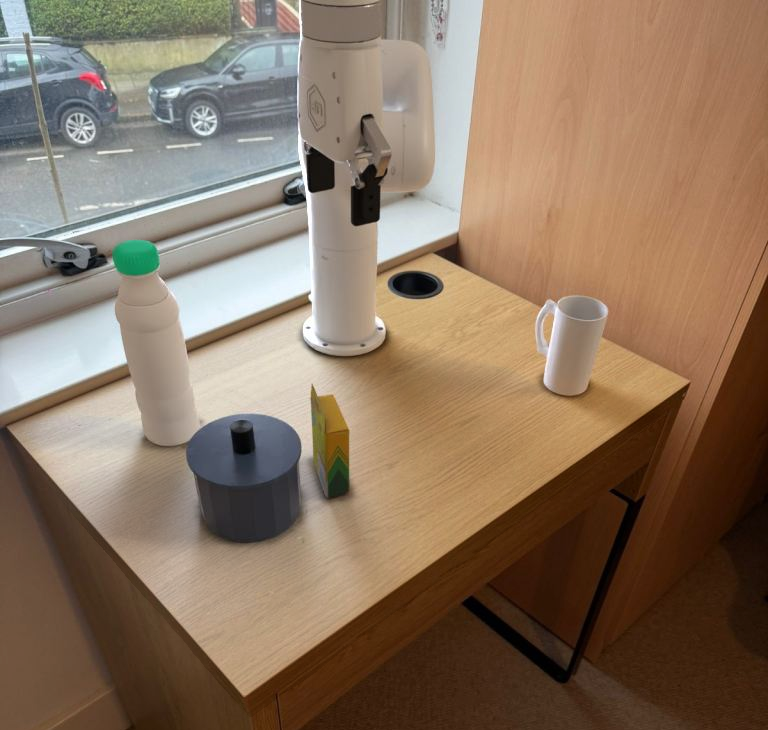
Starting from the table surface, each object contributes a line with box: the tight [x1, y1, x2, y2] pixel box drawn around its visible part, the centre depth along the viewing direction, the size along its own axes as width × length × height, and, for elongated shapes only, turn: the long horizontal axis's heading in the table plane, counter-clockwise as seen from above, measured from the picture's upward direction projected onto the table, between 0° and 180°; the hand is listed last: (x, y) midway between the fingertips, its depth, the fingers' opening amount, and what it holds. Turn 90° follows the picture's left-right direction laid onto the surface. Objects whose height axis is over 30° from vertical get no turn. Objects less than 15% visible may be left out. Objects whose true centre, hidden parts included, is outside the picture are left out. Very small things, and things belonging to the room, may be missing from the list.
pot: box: [192, 460, 302, 544], centre depth 86 cm, size 11×11×8 cm
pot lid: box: [185, 413, 302, 489], centre depth 82 cm, size 12×12×4 cm
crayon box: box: [309, 383, 350, 499], centre depth 89 cm, size 7×3×12 cm, turn 17°
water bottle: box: [112, 239, 201, 447], centre depth 90 cm, size 7×7×25 cm
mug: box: [534, 294, 609, 397], centre depth 106 cm, size 10×7×12 cm, turn 43°
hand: (342, 206), depth 82 cm, fingers open, 9 cm apart
